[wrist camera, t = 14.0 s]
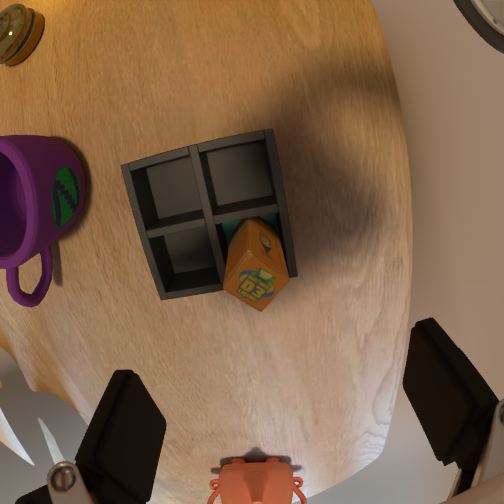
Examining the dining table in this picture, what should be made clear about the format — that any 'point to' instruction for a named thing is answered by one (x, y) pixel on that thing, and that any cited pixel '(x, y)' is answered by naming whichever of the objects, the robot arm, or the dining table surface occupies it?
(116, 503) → the robot arm
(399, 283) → the dining table surface
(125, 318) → the dining table surface
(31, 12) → the brass knobbed weight
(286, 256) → the rack
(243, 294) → the supplement box
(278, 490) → the teapot
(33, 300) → the mug
